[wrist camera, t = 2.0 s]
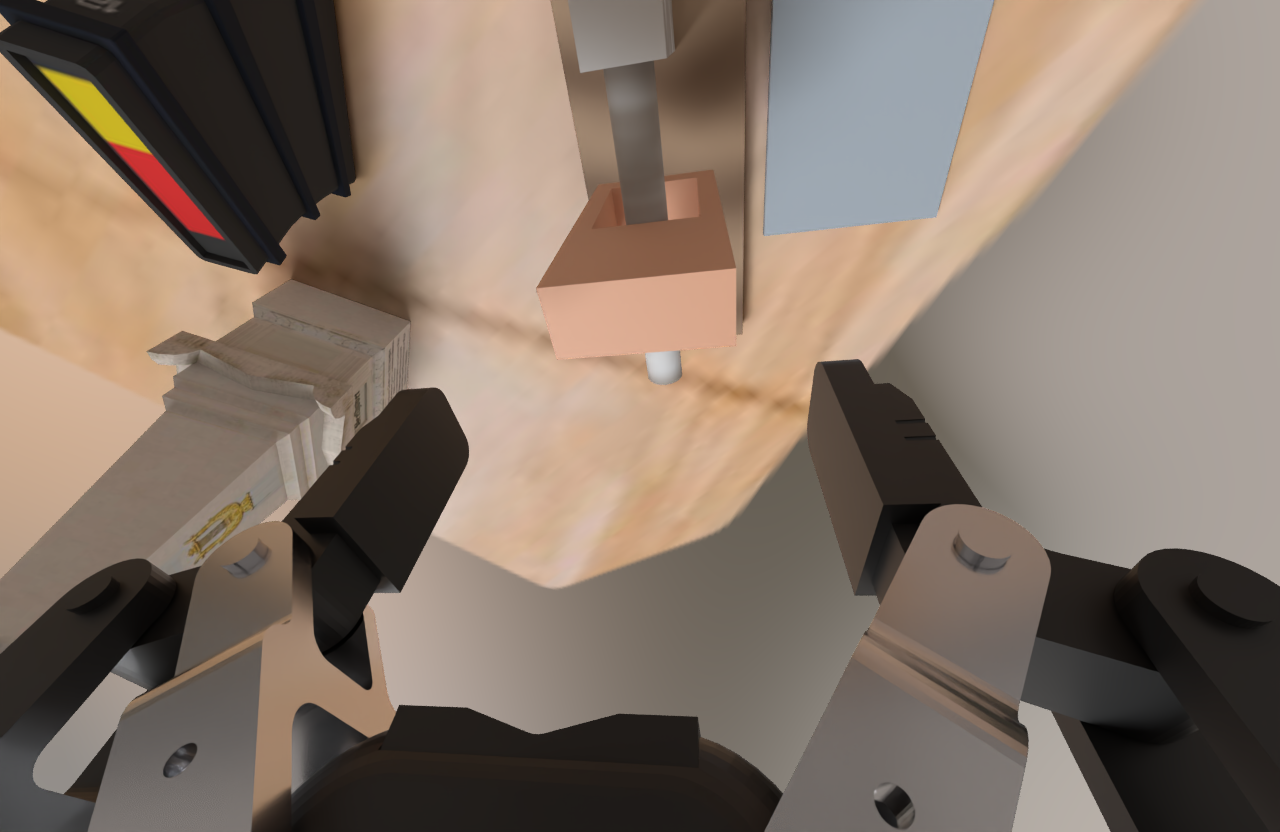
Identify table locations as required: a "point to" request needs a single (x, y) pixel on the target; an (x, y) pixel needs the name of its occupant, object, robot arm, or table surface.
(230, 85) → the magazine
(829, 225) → the mat
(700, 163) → the stand
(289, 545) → the robot arm
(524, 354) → the table surface
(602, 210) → the salmon hollow block
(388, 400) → the miniature monument
